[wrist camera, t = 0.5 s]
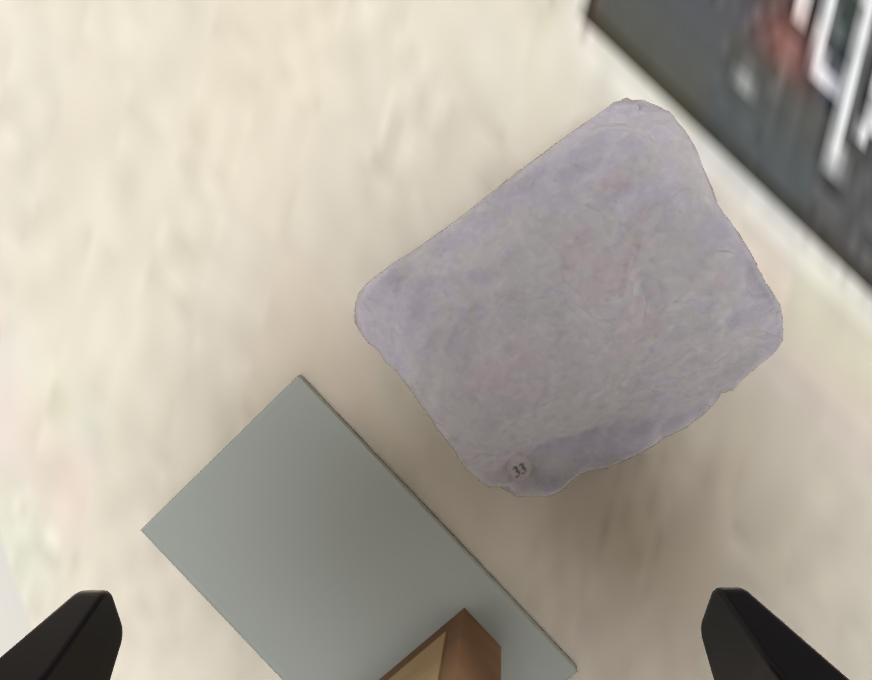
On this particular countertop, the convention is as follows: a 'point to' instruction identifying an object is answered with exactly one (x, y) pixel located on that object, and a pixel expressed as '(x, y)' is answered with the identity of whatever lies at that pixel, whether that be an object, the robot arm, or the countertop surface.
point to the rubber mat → (332, 554)
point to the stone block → (577, 307)
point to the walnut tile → (452, 654)
